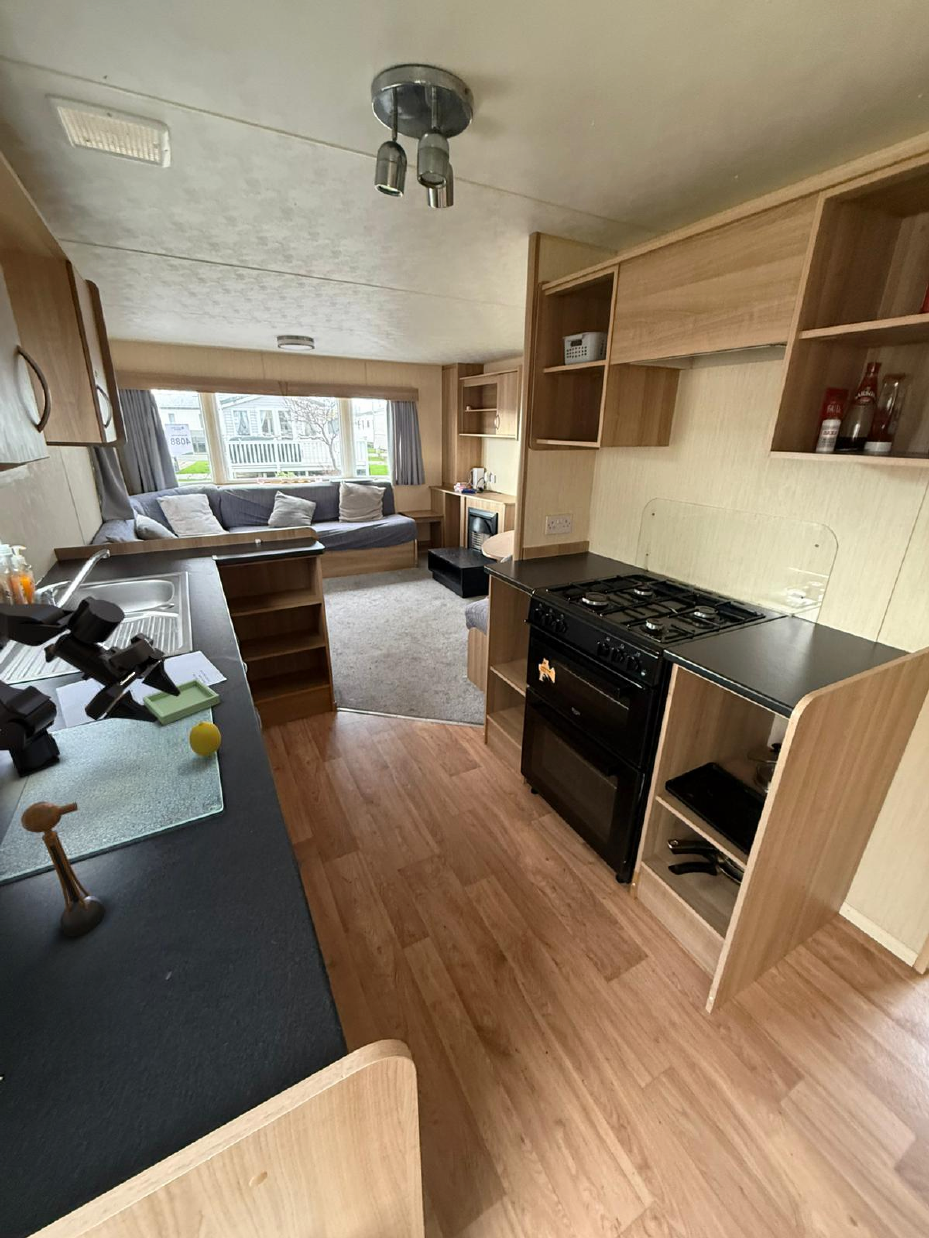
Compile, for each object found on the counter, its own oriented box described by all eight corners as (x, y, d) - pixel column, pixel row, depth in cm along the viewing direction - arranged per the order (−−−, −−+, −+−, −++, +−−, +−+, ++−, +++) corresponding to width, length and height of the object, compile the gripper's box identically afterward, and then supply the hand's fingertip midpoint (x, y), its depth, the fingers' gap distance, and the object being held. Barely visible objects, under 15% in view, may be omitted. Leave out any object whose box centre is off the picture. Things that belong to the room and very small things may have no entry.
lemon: (229, 748, 104) (222, 715, 101) (214, 765, 99) (206, 731, 96) (204, 746, 104) (196, 713, 101) (188, 763, 99) (179, 729, 96)
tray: (163, 725, 112) (161, 717, 111) (144, 705, 120) (142, 697, 119) (220, 702, 120) (218, 695, 120) (199, 685, 128) (197, 678, 127)
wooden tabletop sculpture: (114, 894, 72) (73, 783, 65) (114, 919, 68) (70, 804, 61) (64, 914, 69) (14, 800, 62) (60, 942, 66) (7, 824, 58)
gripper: (83, 650, 82) (168, 706, 86) (143, 610, 99) (212, 658, 104) (48, 695, 84) (133, 746, 89) (112, 647, 101) (181, 692, 106)
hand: (168, 707), depth 97 cm, fingers open, 9 cm apart
